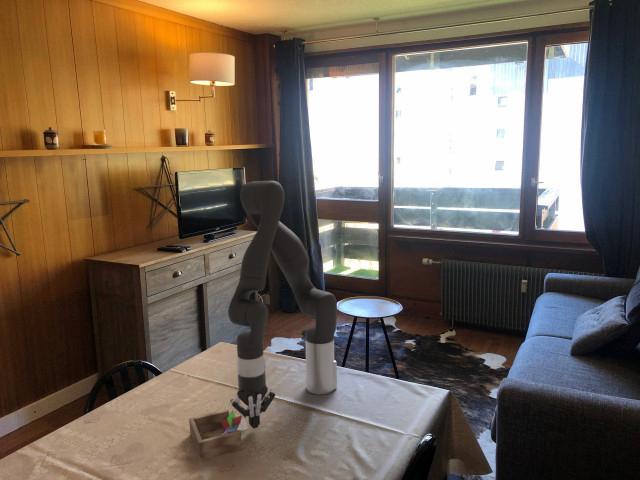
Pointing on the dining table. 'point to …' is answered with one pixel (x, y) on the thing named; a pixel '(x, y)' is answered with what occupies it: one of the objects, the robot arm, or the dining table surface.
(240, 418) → the geometric puzzle
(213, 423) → the box
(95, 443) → the dining table surface
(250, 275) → the robot arm
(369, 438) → the dining table surface
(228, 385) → the dining table surface
